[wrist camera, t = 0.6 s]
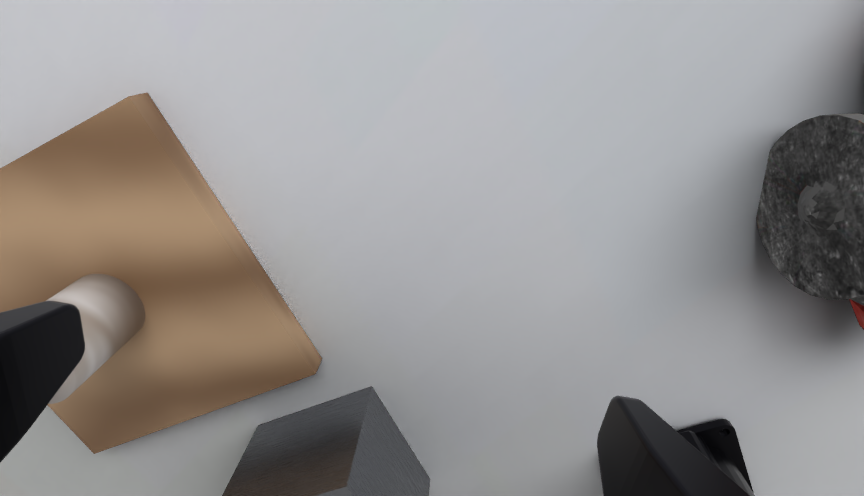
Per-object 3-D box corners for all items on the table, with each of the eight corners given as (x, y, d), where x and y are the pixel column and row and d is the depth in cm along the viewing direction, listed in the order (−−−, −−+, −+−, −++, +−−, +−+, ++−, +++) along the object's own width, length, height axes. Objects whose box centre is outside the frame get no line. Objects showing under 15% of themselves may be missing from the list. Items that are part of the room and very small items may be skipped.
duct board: (322, 358, 25) (284, 447, 19) (108, 436, 28) (26, 531, 22) (147, 92, 20) (34, 115, 14) (-89, 223, 23) (-251, 281, 18)
